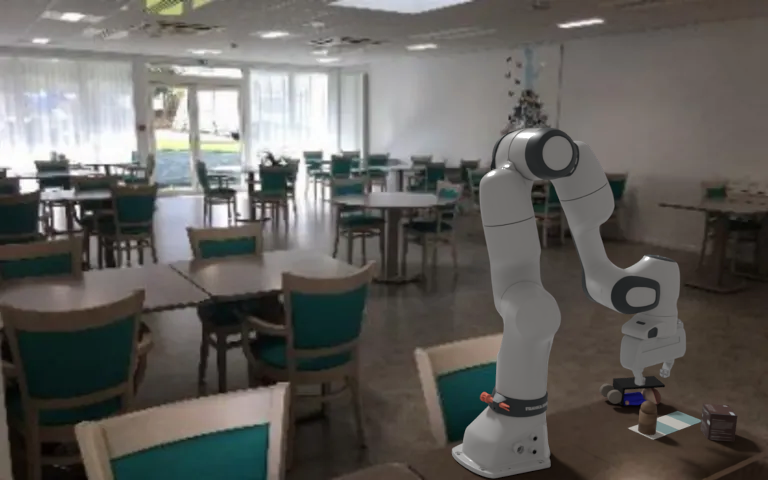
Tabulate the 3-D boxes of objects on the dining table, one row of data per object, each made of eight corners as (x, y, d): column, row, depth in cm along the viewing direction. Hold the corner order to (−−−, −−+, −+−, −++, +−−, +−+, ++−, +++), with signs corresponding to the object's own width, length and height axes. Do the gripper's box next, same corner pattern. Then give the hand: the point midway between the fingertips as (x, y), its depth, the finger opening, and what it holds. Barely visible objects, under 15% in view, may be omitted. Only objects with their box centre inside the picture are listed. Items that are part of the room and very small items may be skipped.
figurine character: (610, 417, 172) (666, 409, 173) (609, 389, 171) (665, 381, 172) (599, 406, 179) (653, 399, 180) (598, 379, 177) (652, 372, 179)
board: (652, 442, 155) (653, 439, 154) (627, 431, 160) (627, 428, 160) (702, 423, 165) (703, 420, 165) (677, 413, 171) (677, 410, 171)
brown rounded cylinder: (648, 436, 156) (651, 405, 155) (634, 430, 159) (636, 400, 158) (659, 432, 158) (662, 402, 157) (644, 426, 161) (647, 396, 160)
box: (699, 431, 161) (702, 402, 160) (725, 433, 160) (728, 404, 159) (707, 442, 155) (710, 413, 154) (734, 445, 154) (738, 415, 153)
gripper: (671, 314, 163) (667, 368, 165) (616, 327, 152) (613, 384, 154) (695, 320, 157) (690, 376, 160) (640, 334, 147) (636, 393, 149)
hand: (652, 380), depth 157 cm, fingers open, 8 cm apart
